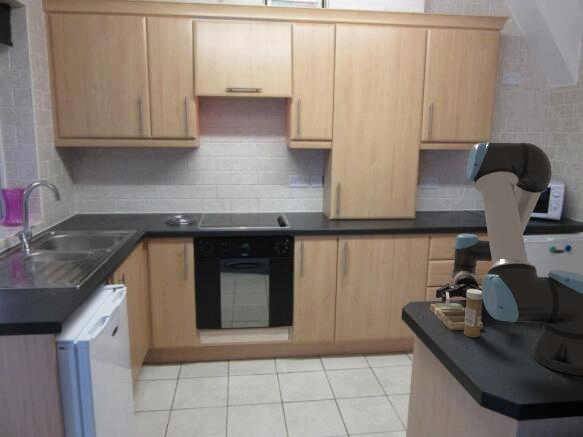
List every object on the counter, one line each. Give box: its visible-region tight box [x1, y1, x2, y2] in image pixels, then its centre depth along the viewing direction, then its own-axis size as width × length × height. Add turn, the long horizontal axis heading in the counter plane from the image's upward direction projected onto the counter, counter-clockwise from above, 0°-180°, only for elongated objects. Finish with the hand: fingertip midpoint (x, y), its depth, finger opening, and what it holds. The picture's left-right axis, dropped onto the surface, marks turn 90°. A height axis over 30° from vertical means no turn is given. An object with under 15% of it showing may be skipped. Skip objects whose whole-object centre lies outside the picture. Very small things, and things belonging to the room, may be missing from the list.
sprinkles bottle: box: [463, 289, 483, 338], centre depth 129 cm, size 5×5×14 cm
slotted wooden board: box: [430, 302, 484, 331], centre depth 141 cm, size 16×10×2 cm, turn 3°
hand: (471, 305), depth 131 cm, fingers open, 13 cm apart
